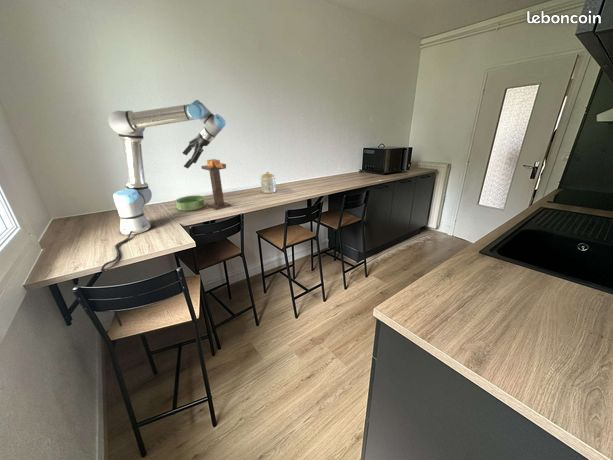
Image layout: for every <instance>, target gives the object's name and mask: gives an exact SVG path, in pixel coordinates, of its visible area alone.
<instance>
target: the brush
mask: <svg viewBox="0 0 613 460" xmlns="http://www.w3.org/2000/svg"><path fill="white" fill-rule="evenodd" d="M206 165H207V166H210V167H219V168H226V169H227V164H226V163H222V162H221V161H220V159H216V158H212V159H206Z"/></svg>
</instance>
